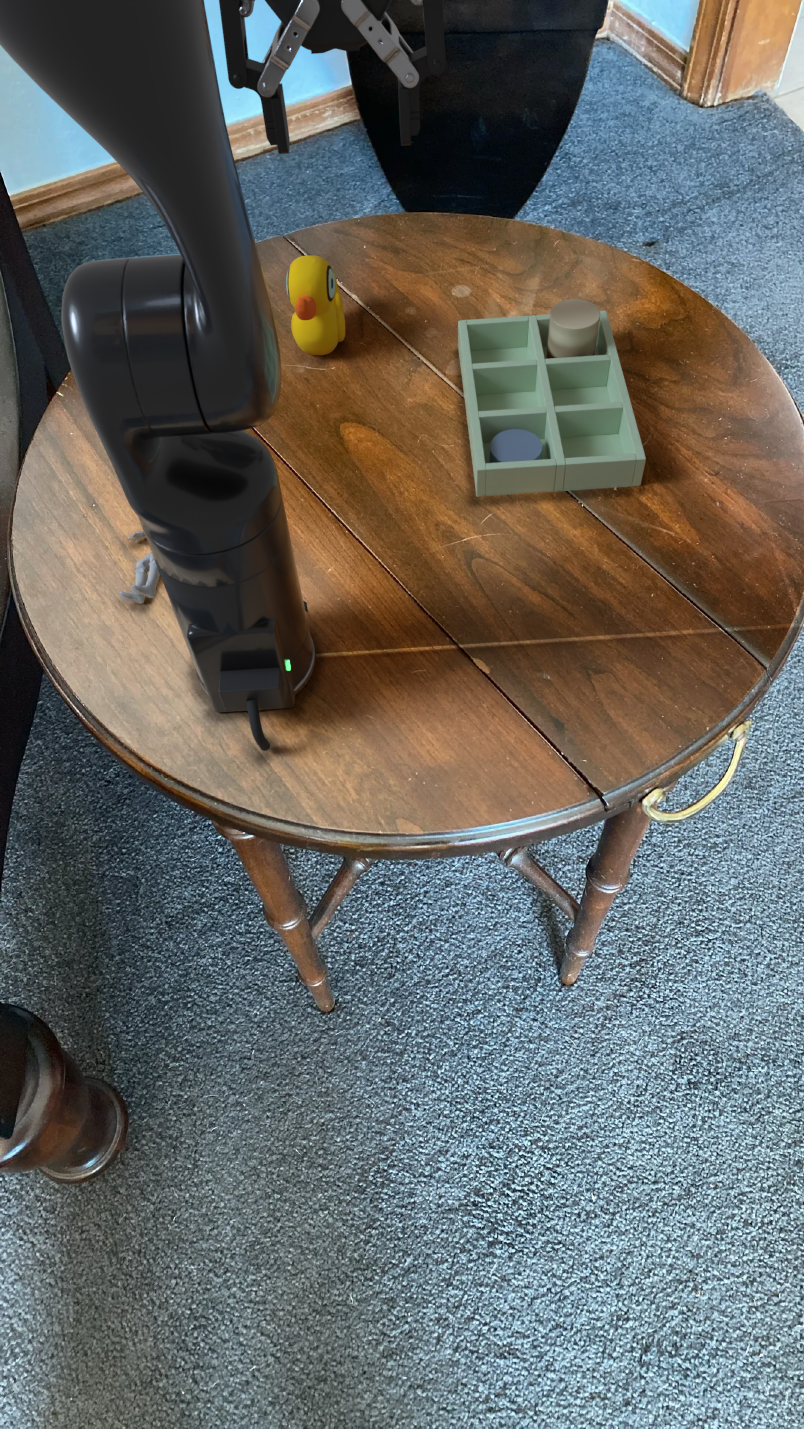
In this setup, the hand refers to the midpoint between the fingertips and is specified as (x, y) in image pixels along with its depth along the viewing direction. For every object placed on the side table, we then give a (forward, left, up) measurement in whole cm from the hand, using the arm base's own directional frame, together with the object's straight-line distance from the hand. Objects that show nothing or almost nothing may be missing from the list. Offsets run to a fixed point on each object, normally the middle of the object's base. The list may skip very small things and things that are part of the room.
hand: (344, 144), depth 68 cm
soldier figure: (-13, +18, -27) cm, 35 cm away
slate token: (-4, -13, -26) cm, 29 cm away
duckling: (+15, +5, -27) cm, 31 cm away
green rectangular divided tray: (+2, -16, -27) cm, 31 cm away
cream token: (+9, -20, -24) cm, 32 cm away
